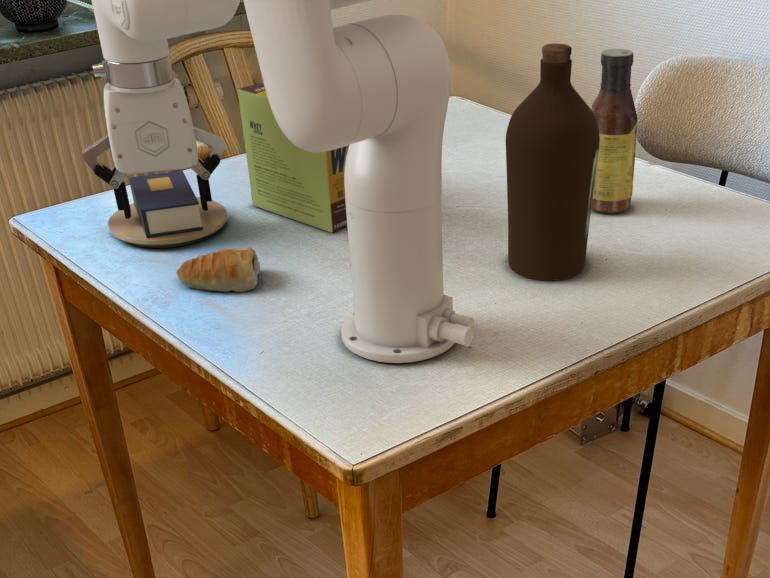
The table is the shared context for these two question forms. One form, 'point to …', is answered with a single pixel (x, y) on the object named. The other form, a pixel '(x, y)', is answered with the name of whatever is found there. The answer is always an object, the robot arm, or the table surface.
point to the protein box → (290, 169)
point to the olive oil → (551, 174)
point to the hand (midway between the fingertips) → (166, 210)
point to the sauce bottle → (615, 133)
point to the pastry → (222, 270)
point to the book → (166, 212)
